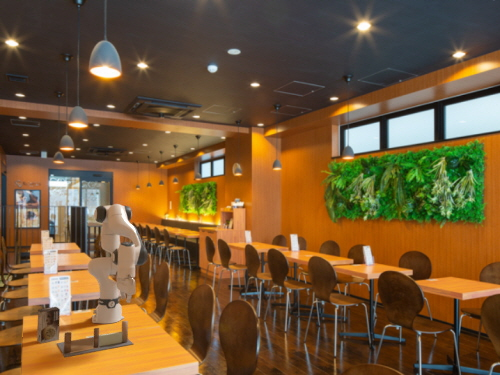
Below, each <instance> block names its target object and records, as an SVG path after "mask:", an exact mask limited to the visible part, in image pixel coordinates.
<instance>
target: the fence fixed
mask: <svg viewBox="0 0 500 375" xmlns="http://www.w3.org/2000/svg"><path fill="white" fill-rule="evenodd" d="M99 336H100V328H99V327H95V328H93V336H91V337H86V338H80V339H74V340H72V331H69V332H68V331H67V332H64V335H63V337H64V339H63V340H64V341H63V342H64V353H65V354H67V353H70V352H74V351H80V350H85V349H91V348H98V347H99ZM93 337H94V338H93ZM93 343H94V345H93Z"/></svg>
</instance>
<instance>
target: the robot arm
mask: <svg viewBox="0 0 500 375" xmlns="http://www.w3.org/2000/svg"><path fill="white" fill-rule="evenodd" d="M93 216H94V220H95V221H96V223H101V224H102V225H101V234H100V235H101V237H100V242H101V243H100V247H101V248H102V250H103V251H106V252H108V253H110V256H107V257H106V256H105V257H103V256H102V257H96V258H95V257H94V258H91V259H90V261H88V264H87V272H88V273H89V274H90V275H91V276H92V277H94V278H95V279H96V280H97V283H98V285H99V286H98V287H99V298H98V304H97V306H96V308H95V309H93V310H92V311H93V312H92V314H93V315H92V316H91V322H92V324H105V325H106V324H113V323H117V322H120V321H122V320H124V319H125V316H123V315H122V313H123V312H122V305H121V304H120V299H121V300H126V303H128V304H130V303H131V302H132V297H133V295H135V294H136V291H137V290H136V280H135V277H136V266H143V265H144V264H145V263H146V262H147V261H148V259H149V253H148V250H147V249H146V247H145V246H144V243H143V240H142V239H141V236H140V234H139V232H138V229H137V227H136V226H135V225H133V224H131V222H130V221H131V220H132V217H133V212H132V208H131V207H130V206H128V205H122V204H120V203H114V204H112V205H111V204H110V205H99V206H97V207H95V210H94V212H93ZM121 237H125V238H128V239H129V240H131V241H132V242H130V241H123V242H121V239H120V238H121ZM112 275H115V276H116V281H115V280H113V279H111V278H110V276H112ZM119 293H120V294H119Z"/></svg>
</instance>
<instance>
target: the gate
mask: <svg viewBox="0 0 500 375" xmlns="http://www.w3.org/2000/svg"><path fill="white" fill-rule="evenodd" d="M128 335H129V321H128V320H121V331H117V332H111V333H105V334H99V336H100V340H99V346H104V345H110V344H115V343H121V342H127V341H128V339H129V337H128Z"/></svg>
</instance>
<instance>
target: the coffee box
mask: <svg viewBox="0 0 500 375" xmlns="http://www.w3.org/2000/svg"><path fill="white" fill-rule="evenodd" d="M60 314H61V311H60V308H59V307H58V306H52V307H46V308H40V309H38V310H37V331H36V332H37V336H36V341H37V342H38V343H39V344H44V343H50V342H54V341H59V340H60Z"/></svg>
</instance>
